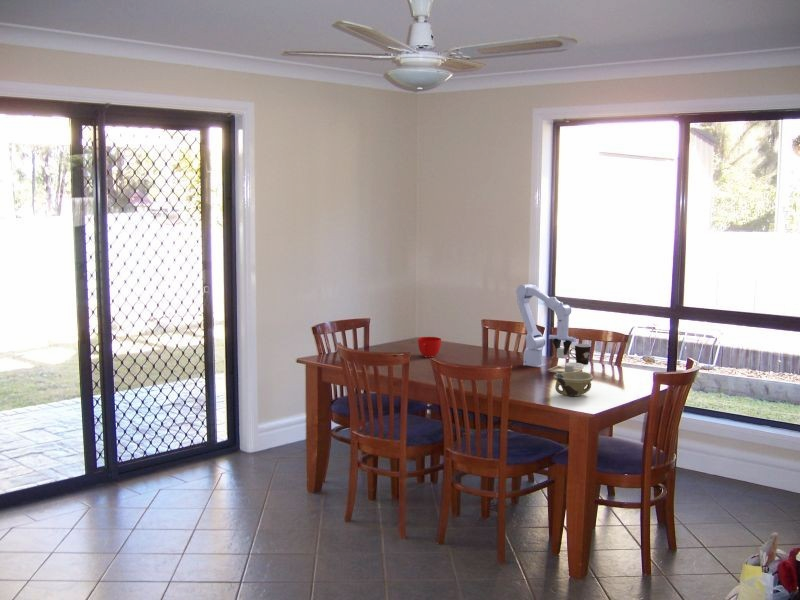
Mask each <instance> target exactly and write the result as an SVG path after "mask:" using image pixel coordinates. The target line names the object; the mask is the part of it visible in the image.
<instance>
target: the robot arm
mask: <svg viewBox="0 0 800 600" xmlns="http://www.w3.org/2000/svg"><path fill="white" fill-rule="evenodd" d="M515 292H516V295H517V298H516V300H517V301H516V302H517V305H518V309H519V311H520V314H521V317H522V318H521V319H522V320H523V323H524V326H525V329H526V332H527V334H526V336H525V340H526V342H525V345H526V348H525V349H524V352H523V364H522V365H523V366H527V367H528V366H529V367H536V368H540V367H543V366H545V365H546V364H545V363H543V349H544V347H545V346H546V339H545V337H544V336H543V334H542V332H541V331H539V330H538V328H537V325H536V321H535V319H534V316H533V312H532V309H531V306H530V303H529V302H530V300H531V298H533V296H534V297H536V298H537V299H539V300H541V301H542V302H543V303H545V306H546V307H547V308H549V309H550V310H552V311H553V312H554V314H555V315H556V320H557V323H556V334H549V335H548V340H552V343H553V345H554V349H555V352H556V353H557V348H560V347H561V344H562V341H563V348H564V355H567V356H568V353H569V352H568V351H569V349H570V346H571V345H572V343H576V342H577V337H571V336H569V327H570V326H569V324H570V323H569V322H570V314H572V308H571V306H570V305H569V304H564V302H563V301H559V300H558V299H557V297H556V296H548V294H546V293H545V292H544V291H542V290H541V289H540V288H539V287H538V286H537V285H535V284H534V283H533V282H532V283H531V282H530V283H528V284H527V283H526V284H525V283H524V284H519V285H518V286H517V288H516V290H515Z"/></svg>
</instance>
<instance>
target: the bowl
mask: <svg viewBox="0 0 800 600" xmlns="http://www.w3.org/2000/svg"><path fill="white" fill-rule="evenodd" d="M593 378H594V376H593V374H591V373H590V372H586V371H582V372H565V373H556V374H554V375H553V379H554V380H555V381H556V382H555V385H554V387H555V391H556V392H557V393H559V394H560V395H562V396H564V395H565V396H566V397H579V396H581V395H584V394H587V393H588V392H589V391H590V390H591V388H592V383H591V382H592V381H593ZM560 387H561V389H562V390H561V389H560Z"/></svg>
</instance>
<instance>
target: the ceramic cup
mask: <svg viewBox="0 0 800 600" xmlns="http://www.w3.org/2000/svg"><path fill="white" fill-rule="evenodd" d="M441 343H442V338H440V337H436V336H422V337H419V338H417V344H418V345H417V346H418V350H419V353H421V355H422V356H423V357H424V356H427V357H426V358H432V357H431V356H435V355H436V356H437V355H438V354H439V352H440V350H441ZM429 356H430V357H429ZM436 356H435V357H436Z"/></svg>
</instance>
